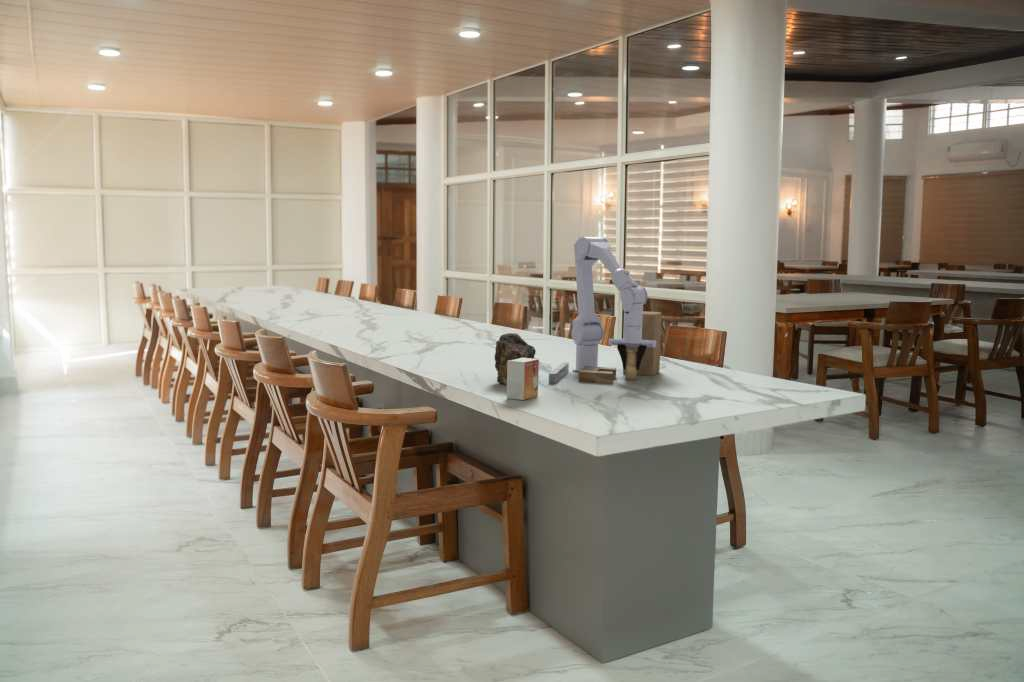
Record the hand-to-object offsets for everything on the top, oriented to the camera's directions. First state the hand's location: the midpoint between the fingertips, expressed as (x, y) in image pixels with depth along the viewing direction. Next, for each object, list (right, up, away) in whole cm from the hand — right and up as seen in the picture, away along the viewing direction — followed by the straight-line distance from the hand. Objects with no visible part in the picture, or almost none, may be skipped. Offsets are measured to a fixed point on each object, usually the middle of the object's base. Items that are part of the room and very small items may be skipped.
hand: (631, 369), depth 266 cm
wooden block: (+5, -2, +15) cm, 16 cm away
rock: (-36, -4, -9) cm, 37 cm away
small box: (-34, -7, -31) cm, 47 cm away
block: (-10, -3, 0) cm, 11 cm away
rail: (-22, -3, +3) cm, 23 cm away
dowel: (0, -3, 0) cm, 3 cm away
